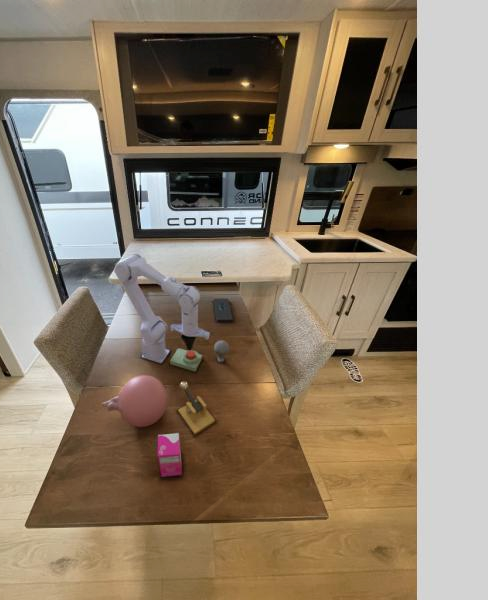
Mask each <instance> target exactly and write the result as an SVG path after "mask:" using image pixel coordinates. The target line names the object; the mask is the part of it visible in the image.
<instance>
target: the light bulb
mask: <svg viewBox="0 0 488 600" xmlns="http://www.w3.org/2000/svg"><path fill="white" fill-rule="evenodd" d="M213 349H214V353H215V354H216V356H217V361H218V362H219V363H223V362H225V357H226V355H227V354H228V353H229V352H230V345H229V343H228V342H227V341H225V340H217V341H216V342H215V344H214V347H213Z"/></svg>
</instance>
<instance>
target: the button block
mask: <svg viewBox="0 0 488 600" xmlns="http://www.w3.org/2000/svg"><path fill="white" fill-rule="evenodd" d="M191 350H192V349H191ZM188 351H190V350H185V349H183V348H179V347H178V348H177V349H176V351H175V353H174V354H172V355H173V356H172V357H171V358H170V360H169V365H172V366H176V367H178V368H181V369H185V370H187V371H191V372H196V371H197V369H198V367H199V365H200V363H201V361H202V360H203V354H200V353H198V352H197V351H196V350H194V349H193V350H192V351H194V352H195V358H194V359H192V360H189V359H187V357H186V353H187V352H188Z"/></svg>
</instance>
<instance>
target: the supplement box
mask: <svg viewBox="0 0 488 600" xmlns="http://www.w3.org/2000/svg"><path fill="white" fill-rule="evenodd" d="M180 443H181V442H180V433H179V432H175V433H167V434H158V435H157V459H158V465H159V471H160V477H161V478H167V477H168V478H169V477H177V476H182V475H183V469H182V467H183V466H182V455H181V454H182V453H181V444H180Z"/></svg>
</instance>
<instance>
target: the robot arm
mask: <svg viewBox="0 0 488 600" xmlns="http://www.w3.org/2000/svg"><path fill="white" fill-rule="evenodd" d="M113 272H114V273H115V276H116V277H117V279H118V281H119V283H120V285H121V287H122V288H123V290H124V292H125V293H126V295H127V297H128V299H129V301H130V302H131V304H132V306H133V308H134V310H135V312H136V313H137V315H138V317H139V319H140V320H141V322H142V323H141V325H140V332H141V335H142V340H141V345H140V346H141V353H142V355H141V358H143V359H146V360H150V361H152V362H155V363H159V364H162V363H163V362H164V360H165V359H166V358H167V356H168V355H169V353H170V351H171V350H170V349H167V347H166V333H168V330H169V328H168V327H169V326H168V325H167V323H166V322H165V321H164V320H163V318H162V317H161V316H158V315H155V313H154V311H153V310H152V308H151V306H150V304H149V302H148V300H147V299H146V296H145V294H144V292H143V291H142V289H141V287H140V285H139V284H138V282H137V280H138V277H143V278H146V279H147V280H149V281H151V282H152V283H155V284H157V285H159V286H160V287H161V290H162V292H164V293H165V294H167V295H168V296H170V297H172V298H173V299H175V301H177V303H178V305H179V307H180V311H181V323H179V324H176V323H172V324H171V325H170V332H174V331H175V332H177V333H180V334H181V336H180V338H181V340H182V341H183V342H184V344H185V346H186V347H185V348H186V349H187V350H186V351H189V350H190V351H191V350H192V349H193V347H194V343H195V340H196V339H197V338H199V337H200V338H204V339H205V340H209V339H210V333H211V332H210V331H206V330H204V329H203V328H201V327H199V301H200V300H201V298H202V293H201V291H200V290H199V288H197V287H196V286H194V285H185V283H182V282H180V281H179V280H177V278H176V277H173V276H168V277H167V276H166V275H164V274H163V273H161V272H160V271H159V270H157V269H156V268H154V267H153V266H152V265H150V264H149V263H147V260H146V258H145V257H143V256H141V255H140V254H138V253H132V254H131V255H130V256H128V257H126V258H124V259H122V260H121V261H117V262H116V263H115V266H114V268H113Z"/></svg>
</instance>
